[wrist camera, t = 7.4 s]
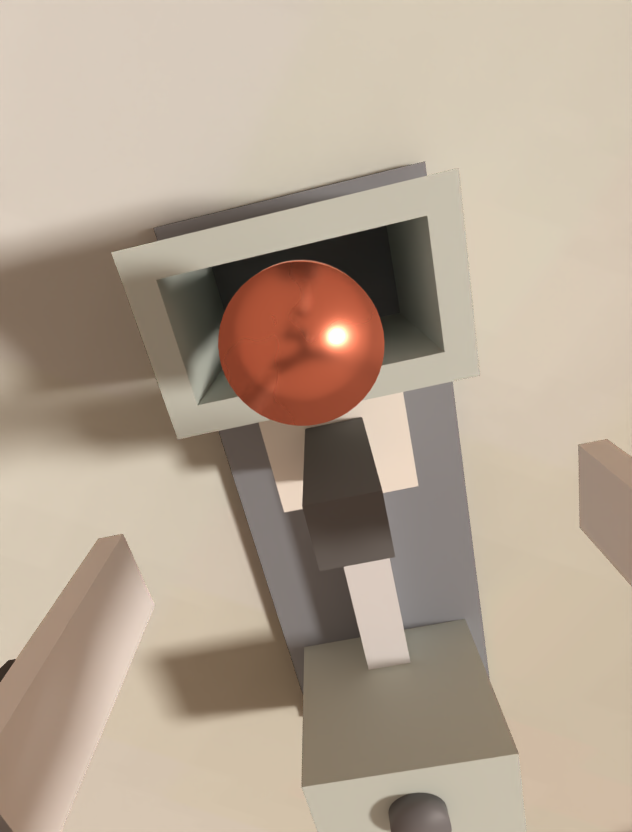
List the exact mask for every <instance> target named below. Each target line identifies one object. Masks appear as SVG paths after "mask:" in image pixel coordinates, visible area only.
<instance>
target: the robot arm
mask: <svg viewBox="0 0 632 832" xmlns="http://www.w3.org/2000/svg"><path fill="white" fill-rule="evenodd" d="M578 455H579V516H580V528H581V530H582V531H583V532H584V533H585V534H586V535H587V536H588V537H589V539H590V540H591V541H592V542H593V543H594V544H595V545H596V547H597V548H598V549H599V550H600V551H601V552H602V553H603V554H604V556H605V557H606V558H607V559H608V560H609V561H610V562H611V564H612V565H613V566H614V567H615V568H616V569H617V570H618V571H619V573H620V574H621V575H622V576H623V577H624V578H625V579H626V580H627V582H628V583H629V584H630V585H631V586H632V457H631V456H630V455H628V454H627V453H626V452H624V451H623V450H621V449H620V448H619V447H617V446H616V445H615V444H613V443H612V442H610V441H609V440H608V439H605V440H600V441H594V442H589V443H584V444H579V445H578ZM154 606H155V604H154V602H153V600H152V597H151V595H150V593H149V591H148V588H147V586H146V584H145V582H144V579H143V577H142V575H141V573H140V571H139V568H138V566H137V564H136V562H135V559H134V557H133V555H132V553H131V551H130V548H129V546H128V544H127V542H126V539H125V537H124V535H123V534H119V535H114V536H109V537H104V538H99V539H98V540H97V541H96V543H95V544H94V546H93V547H92V549H91V550H90V552H89V553H88V555H87V556H86V557H85V559H84V560H83V562H82V563H81V565H80V566H79V568H78V569H77V571H76V572H75V574H74V575H73V577H72V578H71V579H70V581H69V582H68V584H67V585H66V587H65V588H64V590H63V591H62V593H61V594H60V596H59V597H58V599H57V600H56V601H55V603H54V604H53V606H52V607H51V609H50V610H49V612H48V613H47V615H46V616H45V618H44V619H43V621H42V622H41V623H40V625H39V626H38V628H37V629H36V631H35V632H34V634H33V635H32V637H31V638H30V640H29V641H28V643H27V644H26V645H25V647H24V648H23V650H22V651H21V653H20V654H19V656H18V657H17V659H13V660H8V661H7V662H6V663H5V664H4V665H3V666H2V667H1V668H0V832H61V831H62V829H63V826H64V824H65V822H66V819H67V817H68V814H69V812H70V810H71V807H72V805H73V802H74V800H75V797H76V795H77V793H78V790H79V788H80V785H81V783H82V780H83V778H84V776H85V773H86V771H87V768H88V766H89V764H90V761H91V759H92V756H93V754H94V751H95V749H96V747H97V744H98V742H99V739H100V737H101V735H102V732H103V730H104V727H105V725H106V722H107V720H108V718H109V715H110V713H111V710H112V708H113V706H114V703H115V701H116V698H117V696H118V693H119V691H120V689H121V686H122V684H123V681H124V679H125V677H126V674H127V672H128V669H129V667H130V664H131V662H132V660H133V657H134V655H135V652H136V650H137V648H138V645H139V643H140V640H141V638H142V635H143V633H144V631H145V628H146V626H147V623H148V621H149V619H150V616H151V614H152V611H153V609H154Z"/></svg>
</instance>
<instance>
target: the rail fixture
mask: <svg viewBox="0 0 632 832" xmlns="http://www.w3.org/2000/svg"><path fill="white" fill-rule="evenodd" d="M154 231H155V234H156V237H157V241H156V242H152V243H148V244H144V245H139V246H135V247H131V248H127V249H123V250H119V251H115V252H111V253H112V256H113V259H114V262H115V265H116V267H117V270H118V273H119V276H120V279H121V282H122V284H123V287H124V290H125V293H126V296H127V298H128V301H129V304H130V307H131V310H132V312H133V315H134V318H135V321H136V324H137V326H138V329H139V332H140V335H141V338H142V340H143V343H144V346H145V349H146V352H147V355H148V357H149V360H150V363H151V366H152V369H153V371H154V374H155V377H156V380H157V383H158V385H159V388H160V391H161V394H162V397H163V399H164V402H165V405H166V408H167V411H168V414H169V416H170V419H171V422H172V425H173V428H174V430H175V433H176V436H177V439H182V438H187V437H192V436H197V435H201V434H206V433H211V432H216V431H219V434H220V437H221V440H222V444H223V447H224V450H225V453H226V456H227V459H228V462H229V465H230V469H231V472H232V475H233V478H234V481H235V484H236V487H237V490H238V493H239V497H240V500H241V503H242V506H243V509H244V512H245V515H246V518H247V522H248V525H249V528H250V531H251V534H252V537H253V540H254V543H255V547H256V550H257V553H258V556H259V559H260V562H261V565H262V568H263V572H264V575H265V578H266V581H267V584H268V587H269V590H270V593H271V596H272V600H273V603H274V606H275V609H276V612H277V615H278V618H279V621H280V625H281V628H282V631H283V634H284V637H285V640H286V643H287V646H288V650H289V653H290V656H291V659H292V662H293V665H294V668H295V671H296V675H297V678H298V681H299V684H300V687H301V690H302V693H303V738H302V790H303V793H304V796H305V798H306V801H307V804H308V807H309V810H310V812H311V815H312V818H313V821H314V824H315V826H316V829H317V832H527V829H526V819H525V809H524V799H523V790H522V780H521V770H520V760H519V753H518V750H517V748H516V745H515V743H514V740H513V738H512V735H511V733H510V730H509V728H508V725H507V723H506V720H505V718H504V715H503V713H502V710H501V708H500V705H499V703H498V700H497V698H496V695H495V693H494V690H493V688H492V685H491V683H490V679H489V671H488V663H487V655H486V647H485V639H484V631H483V623H482V615H481V607H480V599H479V591H478V583H477V575H476V567H475V559H474V551H473V543H472V535H471V527H470V519H469V511H468V503H467V495H466V486H465V478H464V470H463V462H462V454H461V446H460V438H459V430H458V422H457V414H456V406H455V398H454V390H453V382H452V381H457V380H462V379H467V378H471V377H476V376H480V370H479V360H478V350H477V340H476V331H475V321H474V311H473V301H472V292H471V282H470V272H469V262H468V252H467V243H466V233H465V223H464V213H463V204H462V194H461V184H460V174H459V168H457V169H452V170H448V171H444V172H440V173H436V174H432V175H428V176H427V173H426V165H425V162H421V163H417V164H413V165H409V166H404V167H400V168H396V169H392V170H388V171H384V172H380V173H376V174H372V175H368V176H364V177H360V178H355V179H351V180H347V181H343V182H339V183H335V184H331V185H327V186H323V187H319V188H315V189H311V190H306V191H302V192H298V193H294V194H290V195H286V196H282V197H278V198H274V199H270V200H266V201H262V202H257V203H253V204H249V205H245V206H241V207H237V208H233V209H229V210H225V211H221V212H217V213H213V214H208V215H204V216H200V217H196V218H192V219H188V220H184V221H180V222H176V223H172V224H168V225H164V226H160V227H155V228H154ZM292 260H311V261H317V262H321V263H325V264H328V265H330V266H333V267H335V268H337V269H339V270H341V271H342V272H344V273H346V274H347V275H348V276H350V277H351V278H352V279H353V280H354V281H355V282H356V283H357V284H358V285H359V286H360V287H361V288H362V289H363V290H364V291H365V292H366V293H367V295H368V296H369V297H370V299H371V300H372V302H373V304H374V306H375V307H376V309H377V312H378V314H379V317H380V319H381V323H382V327H383V331H384V341H385V343H384V357H383V363H382V366H381V369H380V373H379V375H378V377H377V379H376V382H375V383H374V385H373V387H372V388H371V390H370V391H369V393H368V394H367V395H366V396H365V398H364V399H363V400H367V399H372V398H377V397H381V396H386V395H391V394H396V393H400V392H403V395H404V401H405V407H406V413H407V419H408V425H409V431H410V437H411V443H412V449H413V455H414V462H415V468H416V474H417V480H418V486H416V487H411V488H406V489H401V490H396V491H391V492H386V493H383V496H384V501H385V506H386V511H387V517H388V522H389V527H390V532H391V537H392V542H393V547H394V552H395V557H393V558H388V559H383V560H377V561H372V562H367V563H361V564H356V565H351V566H345V567H340V568H334V569H329V570H324V571H319V567H318V564H317V560H316V556H315V552H314V549H313V545H312V541H311V537H310V534H309V530H308V526H307V523H306V519H305V515H304V511H303V509H299V510H294V511H289V512H284V510H283V506H282V503H281V499H280V496H279V492H278V489H277V485H276V482H275V478H274V475H273V471H272V468H271V464H270V461H269V457H268V454H267V450H266V447H265V443H264V440H263V436H262V433H261V429H260V426H259V422H263V421H268V420H270V419H268V418H266V417H264V416H262V415H260V414H258V413H257V412H255V411H254V410H252V409H251V408H250V407H249V406H247V405H246V404H245V403H244V402H243V401H242V400H241V399H240V398H239V397H238V396H237V395H236V393H235V392H234V390H233V389H232V387H231V386H230V384H229V382H228V381H227V379H226V377H225V374H224V371H223V369H222V366H221V362H220V357H219V349H218V337H219V329H220V324H221V321H222V317H223V314H224V312H225V310H226V308H227V306H228V303H229V302H230V300H231V299H232V297H233V296H234V294H235V293H236V292H237V291H238V290H239V289H240V287H241V286H242V285H243V284H245V283H246V282H247V281H248V280H249V279H250V278H252V277H253V276H255V275H256V274H258V273H259V272H261V271H262V270H264V269H266V268H268V267H270V266H272V265H275V264H278V263H281V262H286V261H292Z"/></svg>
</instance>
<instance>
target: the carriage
mask: <svg viewBox="0 0 632 832" xmlns="http://www.w3.org/2000/svg"><path fill="white" fill-rule="evenodd" d="M259 426H260V429H261V433H262V436H263V440H264V443H265V447H266V450H267V454H268V457H269V461H270V464H271V468H272V471H273V475H274V478H275V482H276V485H277V489H278V492H279V496H280V499H281V503H282V506H283V510H284V512H289V511H294V510H299V509H303V511H304V515H305V519H306V523H307V526H308V530H309V534H310V537H311V541H312V545H313V549H314V552H315V556H316V560H317V564H318V567H319V571H324V570H329V569H334V568H340V567H345V566H351V565H356V564H361V563H367V562H372V561H377V560H383V559H388V558H393V557H395V552H394V547H393V542H392V537H391V532H390V527H389V522H388V517H387V511H386V506H385V501H384V496H383V493H386V492H391V491H396V490H401V489H406V488H411V487H416V486H418V480H417V474H416V468H415V462H414V455H413V449H412V443H411V437H410V431H409V425H408V419H407V413H406V407H405V401H404V395H403V392H400V393H396V394H391V395H386V396H381V397H377V398H372V399H367V400H362V401H361V402H360V403H359V404H358V405H357V406H356V407H354V408H353V409H352V410H350V411H349V412H348V413H346V414H344V415H342V416H340V417H339V418H336V419H334V420H331V421H329V422H325V423H321V424H316V425H310V426H296V425H287V424H283V423H279V422H276V421H273V420H268V421H263V422H259Z"/></svg>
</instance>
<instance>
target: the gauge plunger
mask: <svg viewBox="0 0 632 832" xmlns="http://www.w3.org/2000/svg"><path fill="white" fill-rule="evenodd" d="M384 343H385V341H384V331H383V327H382V323H381V319H380V317H379V314H378V312H377V309H376V307H375V306H374V304H373V302H372V300H371V299H370V297H369V296H368V295H367V293H366V292H365V291H364V290H363V289H362V288H361V287H360V286H359V285H358V284H357V283H356V282H355V281H354V280H353V279H352V278H351V277H350V276H348V275H347V274H346V273H344V272H342V271H341V270H339V269H337V268H335V267H333V266H330V265H328V264H325V263H321V262H317V261H311V260H292V261H286V262H281V263H278V264H275V265H272V266H270V267H268V268H266V269H264V270H262V271H261V272H259V273H258V274H256V275H255V276H253V277H252V278H250V279H249V280H248V281H247V282H246V283H245V284H243V285H242V286H241V287H240V289H239V290H238V291H237V292H236V293H235V294H234V296H233V297H232V299H231V300H230V302H229V303H228V306H227V308H226V310H225V312H224V314H223V317H222V321H221V324H220V329H219V337H218V349H219V357H220V362H221V366H222V369H223V371H224V374H225V377H226V379H227V381H228V382H229V384H230V386H231V387H232V389H233V390H234V392H235V393H236V395H237V396H238V397H239V398H240V399H241V400H242V401H243V402H244V403H245V404H246V405H247V406H249V407H250V408H251V409H252V410H254V411H255V412H257V413H258V414H260V415H262V416H264V417H266V418H268V419H270V420H273V421H276V422H279V423H283V424H287V425H296V426H310V425H316V424H321V423H325V422H329V421H331V420H334V419H336V418H339V417H340V416H342V415H344V414H346V413H348V412H349V411H350V410H352V409H353V408H354V407H356V406H357V405H358V404H359V403H360V402H361V401H362V400H363V399H364V398H365V396H366V395H367V394H368V393H369V391H370V390H371V388H372V387H373V385H374V383H375V382H376V379H377V377H378V375H379V373H380V369H381V366H382V363H383V357H384Z"/></svg>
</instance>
